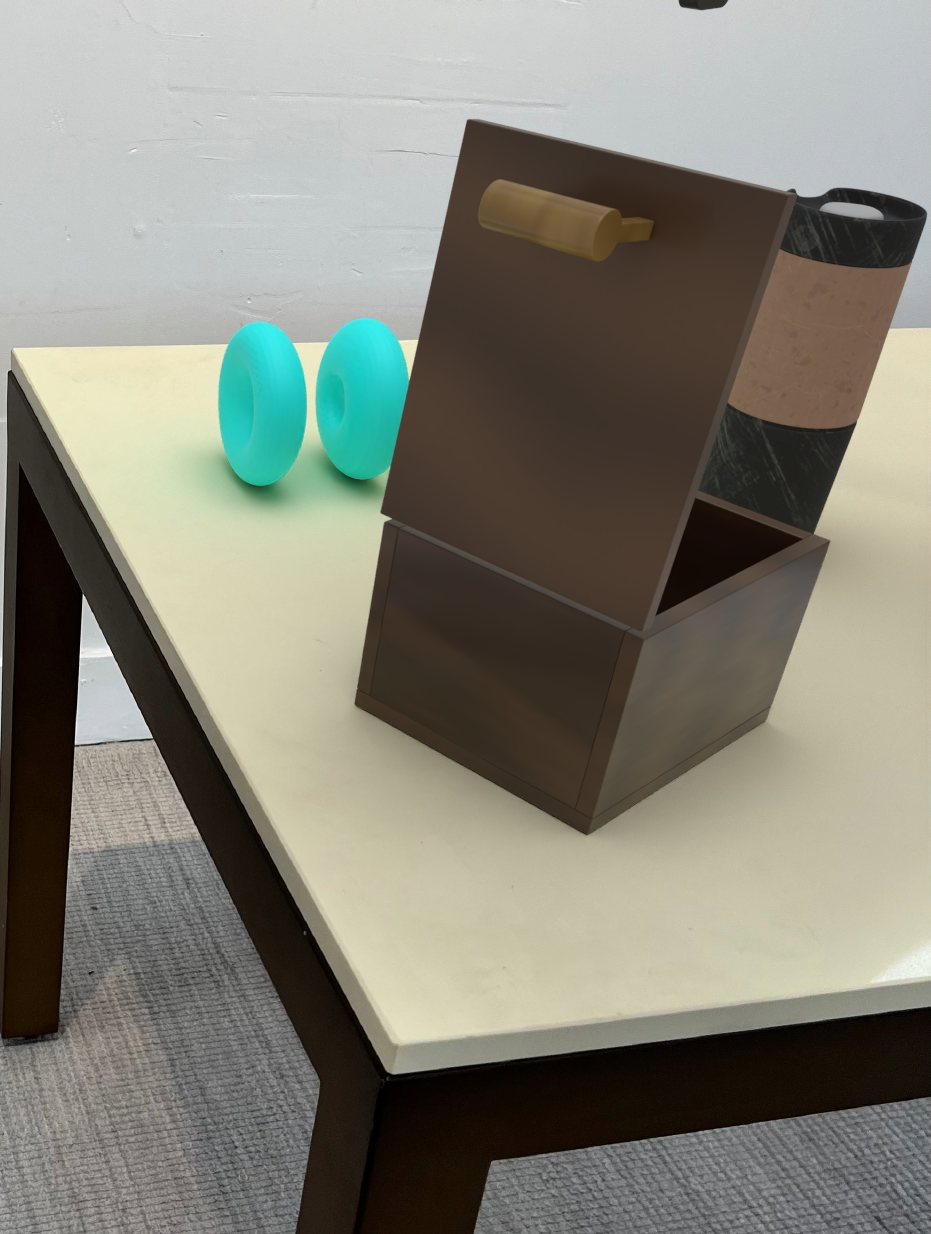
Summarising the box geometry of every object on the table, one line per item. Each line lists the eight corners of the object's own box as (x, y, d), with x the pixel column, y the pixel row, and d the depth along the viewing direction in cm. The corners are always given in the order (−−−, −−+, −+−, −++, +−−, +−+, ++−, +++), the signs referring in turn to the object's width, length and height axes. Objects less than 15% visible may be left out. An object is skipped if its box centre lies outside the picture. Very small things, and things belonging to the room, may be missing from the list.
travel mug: (800, 578, 88) (923, 229, 76) (671, 545, 91) (770, 204, 79) (819, 532, 93) (937, 200, 82) (697, 502, 96) (793, 178, 84)
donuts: (206, 451, 99) (219, 301, 94) (345, 443, 102) (366, 296, 96) (254, 513, 92) (271, 353, 86) (402, 503, 94) (429, 347, 88)
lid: (478, 118, 59) (400, 118, 56) (799, 193, 51) (727, 198, 48) (390, 510, 68) (318, 529, 65) (651, 628, 60) (583, 655, 57)
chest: (540, 614, 82) (581, 445, 77) (766, 720, 74) (831, 540, 69) (353, 704, 74) (383, 521, 68) (587, 835, 66) (643, 640, 60)
